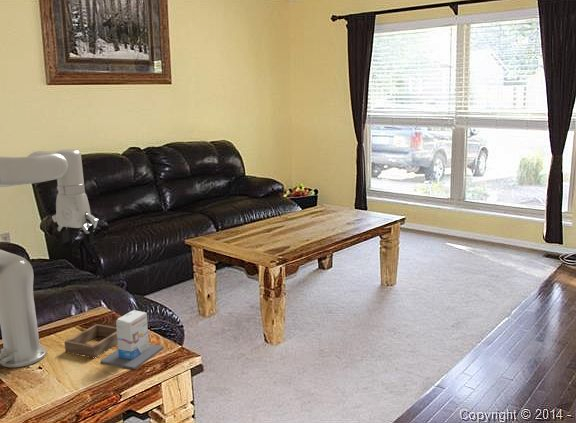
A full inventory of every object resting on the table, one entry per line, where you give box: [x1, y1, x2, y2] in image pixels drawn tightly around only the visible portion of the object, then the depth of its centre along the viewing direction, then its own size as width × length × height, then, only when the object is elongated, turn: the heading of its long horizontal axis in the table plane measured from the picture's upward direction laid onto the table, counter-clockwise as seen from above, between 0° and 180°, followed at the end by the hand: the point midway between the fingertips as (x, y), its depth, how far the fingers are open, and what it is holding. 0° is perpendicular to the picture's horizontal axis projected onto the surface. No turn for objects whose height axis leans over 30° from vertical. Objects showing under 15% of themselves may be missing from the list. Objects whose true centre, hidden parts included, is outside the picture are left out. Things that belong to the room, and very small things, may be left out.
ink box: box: [115, 309, 150, 360], centre depth 164 cm, size 9×5×12 cm, turn 158°
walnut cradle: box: [64, 323, 118, 359], centre depth 172 cm, size 14×11×4 cm
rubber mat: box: [100, 343, 164, 370], centre depth 165 cm, size 14×12×1 cm
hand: (77, 243), depth 174 cm, fingers open, 9 cm apart
